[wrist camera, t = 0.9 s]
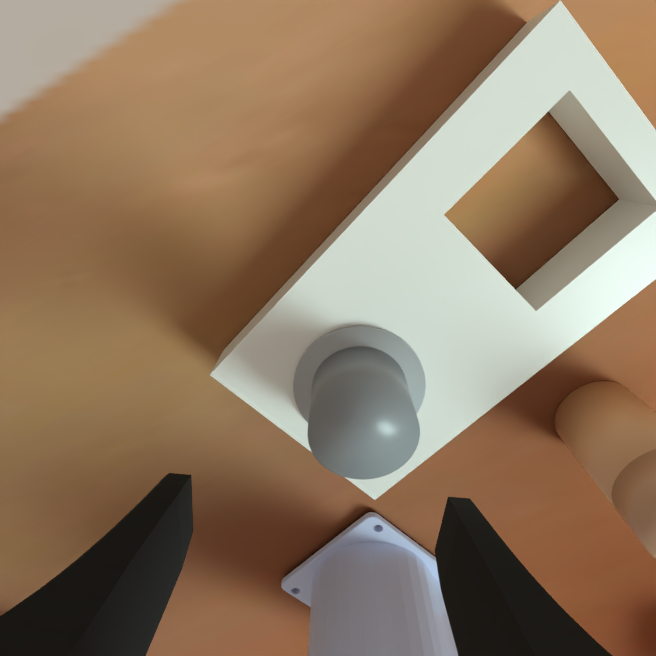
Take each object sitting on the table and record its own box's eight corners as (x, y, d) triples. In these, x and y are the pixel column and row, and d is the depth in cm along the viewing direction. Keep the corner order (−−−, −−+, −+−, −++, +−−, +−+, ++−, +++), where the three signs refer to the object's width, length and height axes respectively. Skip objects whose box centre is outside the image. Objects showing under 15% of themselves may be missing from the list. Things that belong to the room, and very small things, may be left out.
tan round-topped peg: (652, 414, 22) (783, 525, 16) (584, 460, 23) (680, 581, 17) (606, 365, 21) (726, 462, 15) (538, 416, 22) (621, 527, 16)
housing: (675, 214, 18) (823, 243, 13) (370, 465, 24) (381, 563, 18) (527, 21, 16) (630, -46, 10) (223, 349, 21) (183, 422, 16)
